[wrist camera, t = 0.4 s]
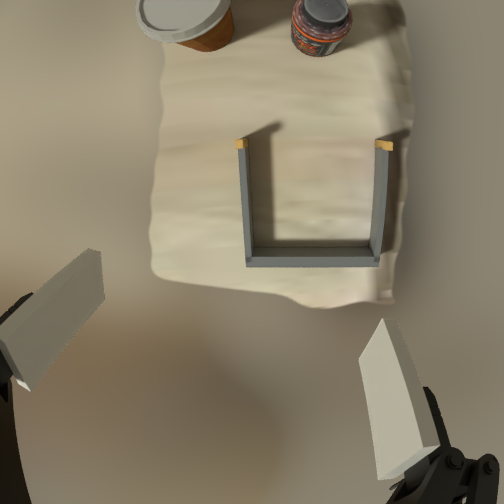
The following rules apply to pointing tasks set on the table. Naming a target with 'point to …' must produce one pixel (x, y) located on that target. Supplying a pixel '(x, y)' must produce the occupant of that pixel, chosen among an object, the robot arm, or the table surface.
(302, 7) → the supplement bottle
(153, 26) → the disposable coffee cup
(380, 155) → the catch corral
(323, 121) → the table surface
